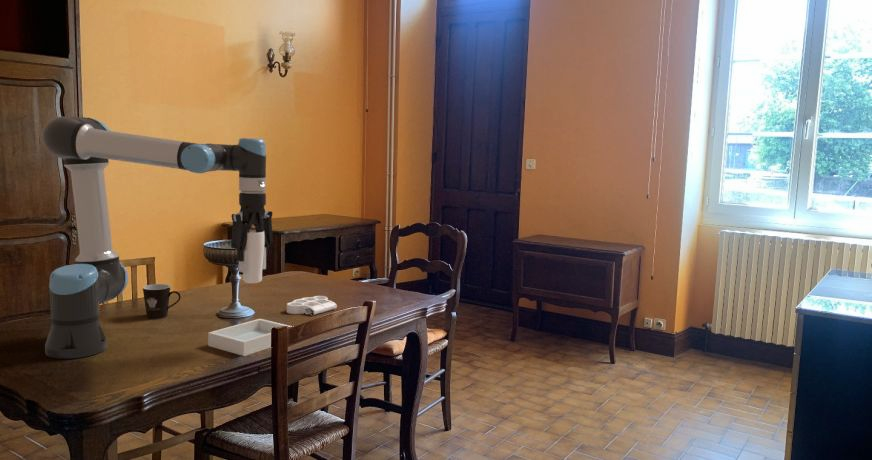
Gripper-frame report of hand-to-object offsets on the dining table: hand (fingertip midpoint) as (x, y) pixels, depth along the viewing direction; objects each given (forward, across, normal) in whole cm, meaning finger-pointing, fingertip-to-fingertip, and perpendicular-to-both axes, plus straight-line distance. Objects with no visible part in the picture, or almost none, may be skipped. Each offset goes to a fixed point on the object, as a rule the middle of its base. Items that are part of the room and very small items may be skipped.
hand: (252, 270), depth 197 cm
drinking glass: (+4, 0, 0) cm, 4 cm away
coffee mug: (+22, +1, +45) cm, 50 cm away
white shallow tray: (+22, 0, 0) cm, 22 cm away
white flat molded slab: (+23, +40, +14) cm, 48 cm away
